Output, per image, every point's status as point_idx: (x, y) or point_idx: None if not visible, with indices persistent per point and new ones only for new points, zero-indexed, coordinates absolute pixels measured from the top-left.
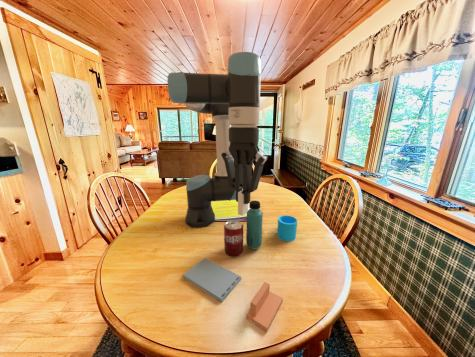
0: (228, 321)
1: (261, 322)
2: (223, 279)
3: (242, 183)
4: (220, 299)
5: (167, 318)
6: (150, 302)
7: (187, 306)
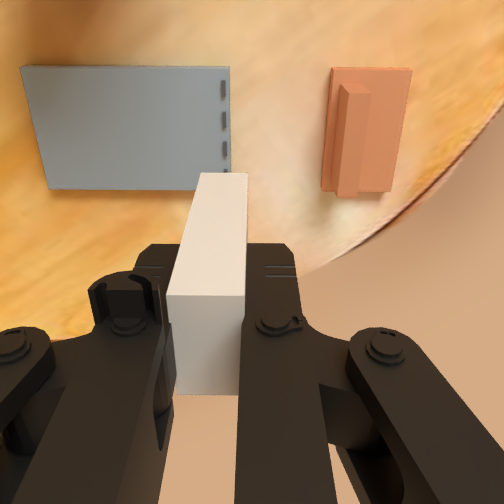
0: (282, 217)
1: (370, 186)
2: (180, 123)
3: (152, 400)
4: None
5: None
6: (71, 286)
7: None
